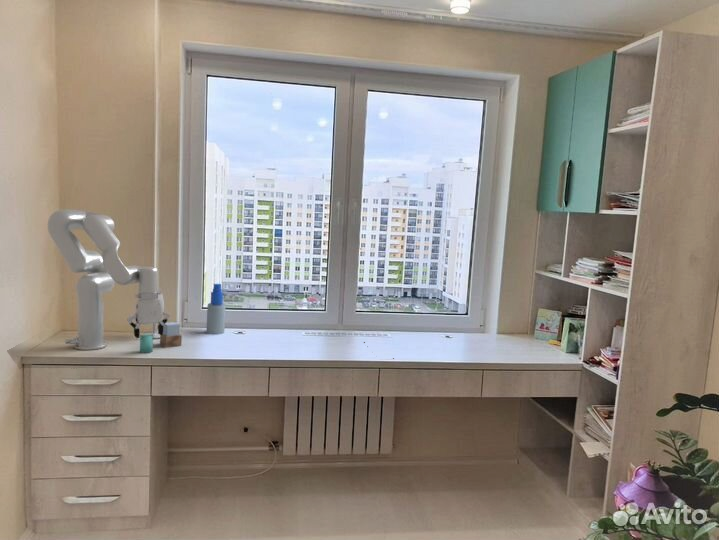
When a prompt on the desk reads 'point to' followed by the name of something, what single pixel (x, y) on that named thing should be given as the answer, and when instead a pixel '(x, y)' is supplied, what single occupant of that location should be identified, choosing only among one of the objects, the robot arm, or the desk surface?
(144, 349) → the teal cylinder
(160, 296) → the wineglass
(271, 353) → the desk surface
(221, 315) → the spray bottle
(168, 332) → the bluegrey cube
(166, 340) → the walnut base
